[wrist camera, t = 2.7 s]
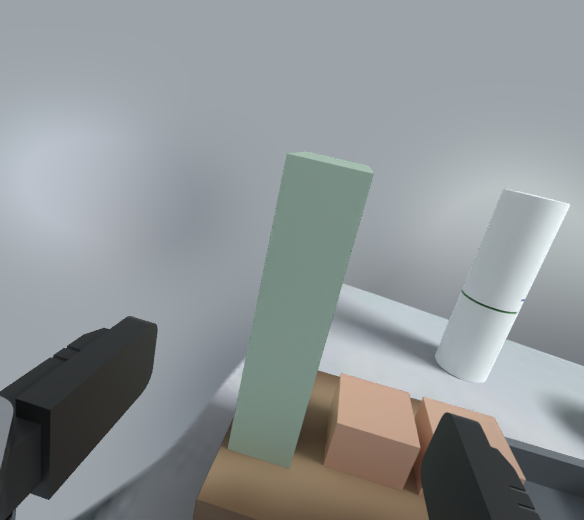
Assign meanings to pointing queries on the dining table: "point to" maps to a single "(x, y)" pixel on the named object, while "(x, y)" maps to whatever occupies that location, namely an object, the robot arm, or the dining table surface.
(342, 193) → the tall sage green panel
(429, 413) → the tile
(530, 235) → the cylindrical container
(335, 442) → the tile
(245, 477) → the bench
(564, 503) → the tray
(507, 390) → the dining table surface
